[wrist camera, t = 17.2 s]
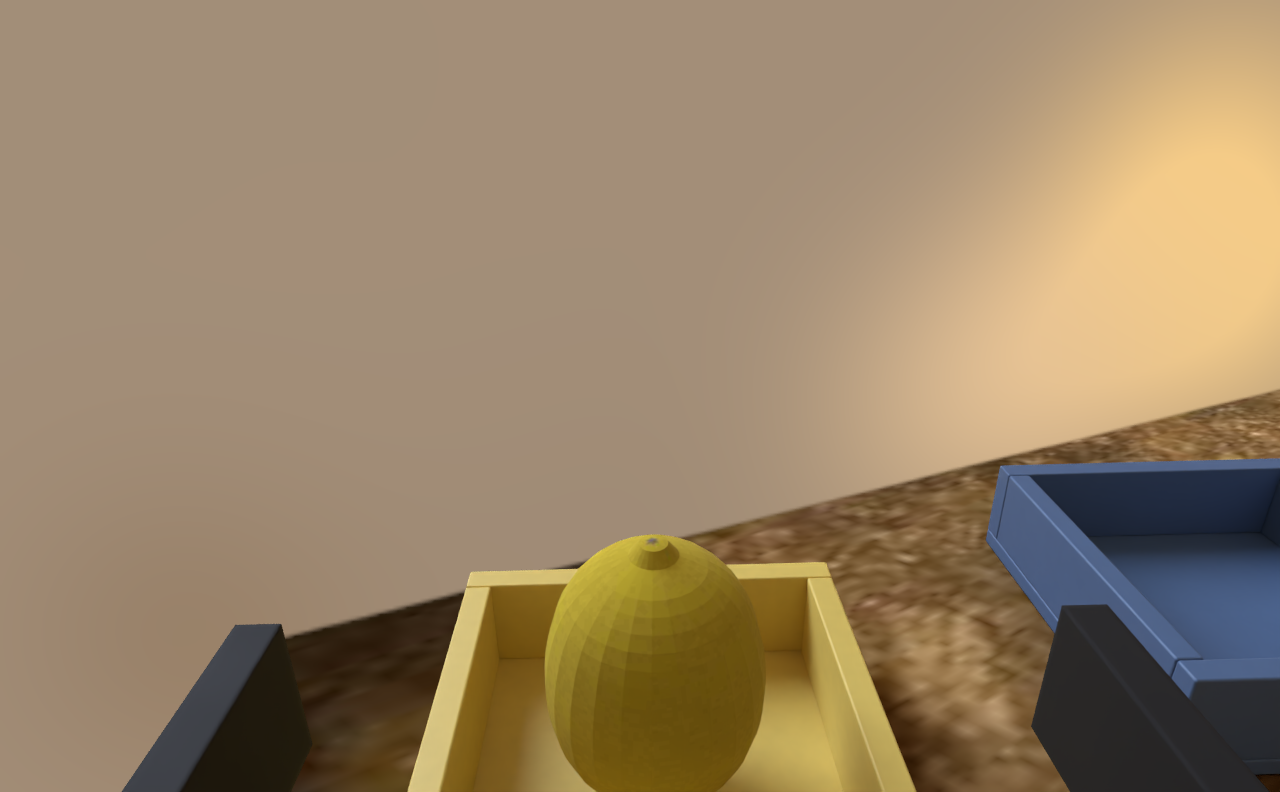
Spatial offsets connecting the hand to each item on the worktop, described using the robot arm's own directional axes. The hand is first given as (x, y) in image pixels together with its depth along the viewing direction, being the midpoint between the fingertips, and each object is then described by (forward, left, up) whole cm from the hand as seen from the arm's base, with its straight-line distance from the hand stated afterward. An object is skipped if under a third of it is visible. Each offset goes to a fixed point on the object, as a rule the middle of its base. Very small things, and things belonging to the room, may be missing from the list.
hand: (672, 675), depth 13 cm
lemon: (+5, 0, -9) cm, 10 cm away
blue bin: (+11, -20, -9) cm, 24 cm away
